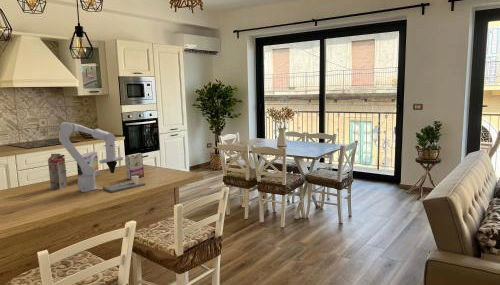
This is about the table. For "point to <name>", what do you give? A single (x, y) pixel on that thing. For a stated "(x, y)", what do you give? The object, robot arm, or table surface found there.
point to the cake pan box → (92, 160)
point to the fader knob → (135, 179)
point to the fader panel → (122, 186)
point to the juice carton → (57, 171)
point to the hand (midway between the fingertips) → (112, 172)
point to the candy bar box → (134, 165)
